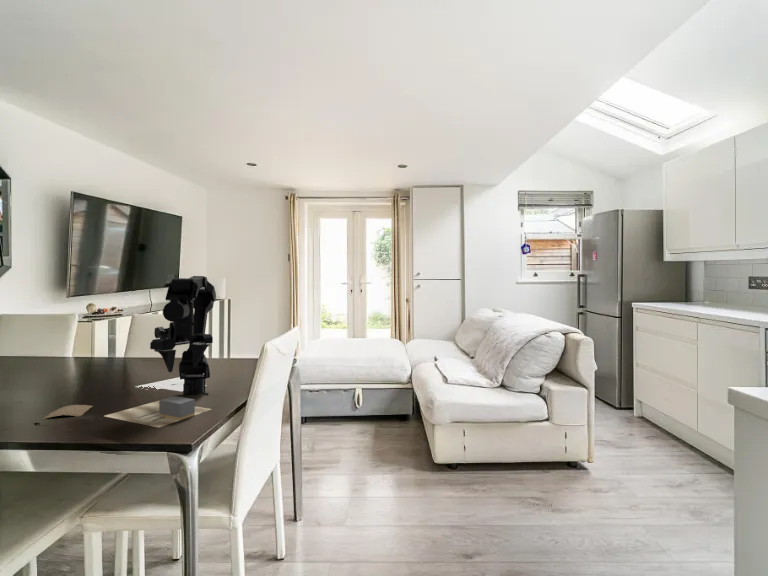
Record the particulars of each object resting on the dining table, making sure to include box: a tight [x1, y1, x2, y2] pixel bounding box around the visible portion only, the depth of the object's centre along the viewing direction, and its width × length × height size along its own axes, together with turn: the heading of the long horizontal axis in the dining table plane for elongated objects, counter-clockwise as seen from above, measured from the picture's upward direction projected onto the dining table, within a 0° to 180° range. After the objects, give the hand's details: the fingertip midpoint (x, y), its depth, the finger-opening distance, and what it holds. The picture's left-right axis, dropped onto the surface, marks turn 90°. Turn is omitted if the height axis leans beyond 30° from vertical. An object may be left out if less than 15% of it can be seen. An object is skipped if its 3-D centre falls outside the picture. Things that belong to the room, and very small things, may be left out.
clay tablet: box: [33, 404, 94, 424], centre depth 122 cm, size 14×10×3 cm
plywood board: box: [104, 400, 213, 428], centre depth 123 cm, size 18×22×1 cm
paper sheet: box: [134, 376, 208, 392], centre depth 155 cm, size 24×29×1 cm
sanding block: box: [158, 395, 196, 421], centre depth 121 cm, size 5×8×4 cm, turn 66°
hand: (183, 369), depth 132 cm, fingers open, 9 cm apart
